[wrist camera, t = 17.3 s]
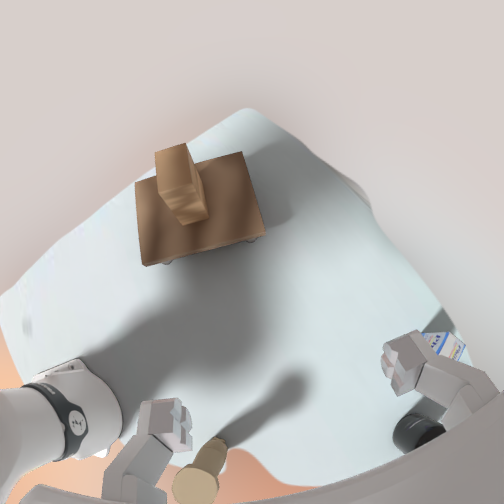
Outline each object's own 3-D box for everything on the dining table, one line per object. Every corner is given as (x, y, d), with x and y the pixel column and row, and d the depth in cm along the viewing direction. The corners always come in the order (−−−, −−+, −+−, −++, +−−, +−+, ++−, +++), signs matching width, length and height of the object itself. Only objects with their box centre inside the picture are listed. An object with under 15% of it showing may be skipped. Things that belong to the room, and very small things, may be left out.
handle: (197, 455, 35) (167, 500, 21) (208, 423, 37) (178, 461, 22) (227, 465, 34) (208, 514, 20) (238, 433, 36) (223, 476, 22)
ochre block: (182, 225, 40) (158, 192, 30) (177, 190, 41) (154, 152, 32) (209, 218, 40) (192, 182, 30) (202, 183, 41) (185, 142, 32)
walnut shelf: (157, 273, 44) (142, 264, 38) (148, 199, 48) (134, 182, 42) (266, 245, 44) (265, 231, 39) (244, 171, 48) (241, 151, 43)
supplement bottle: (408, 406, 35) (446, 422, 24) (432, 421, 34) (471, 438, 22) (383, 440, 34) (415, 467, 22) (408, 453, 32) (442, 479, 21)
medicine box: (420, 332, 39) (449, 329, 30) (437, 345, 38) (467, 344, 29) (396, 374, 37) (422, 380, 29) (413, 386, 36) (441, 394, 28)
